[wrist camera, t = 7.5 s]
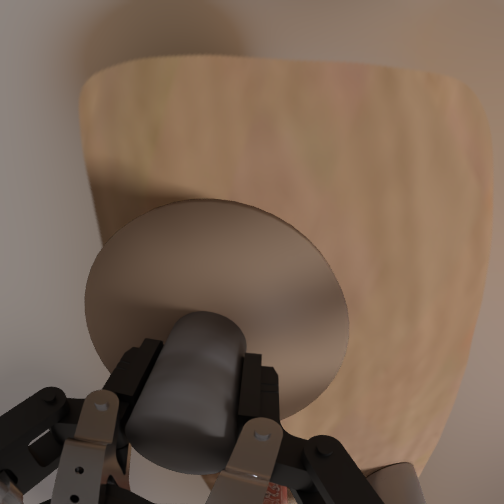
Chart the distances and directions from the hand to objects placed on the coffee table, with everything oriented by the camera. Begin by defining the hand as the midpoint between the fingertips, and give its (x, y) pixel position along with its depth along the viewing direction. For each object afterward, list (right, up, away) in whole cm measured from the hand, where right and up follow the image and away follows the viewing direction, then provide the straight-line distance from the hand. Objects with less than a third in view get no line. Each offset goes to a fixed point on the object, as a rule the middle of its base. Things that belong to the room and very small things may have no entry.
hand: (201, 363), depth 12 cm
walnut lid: (0, +1, +2) cm, 2 cm away
